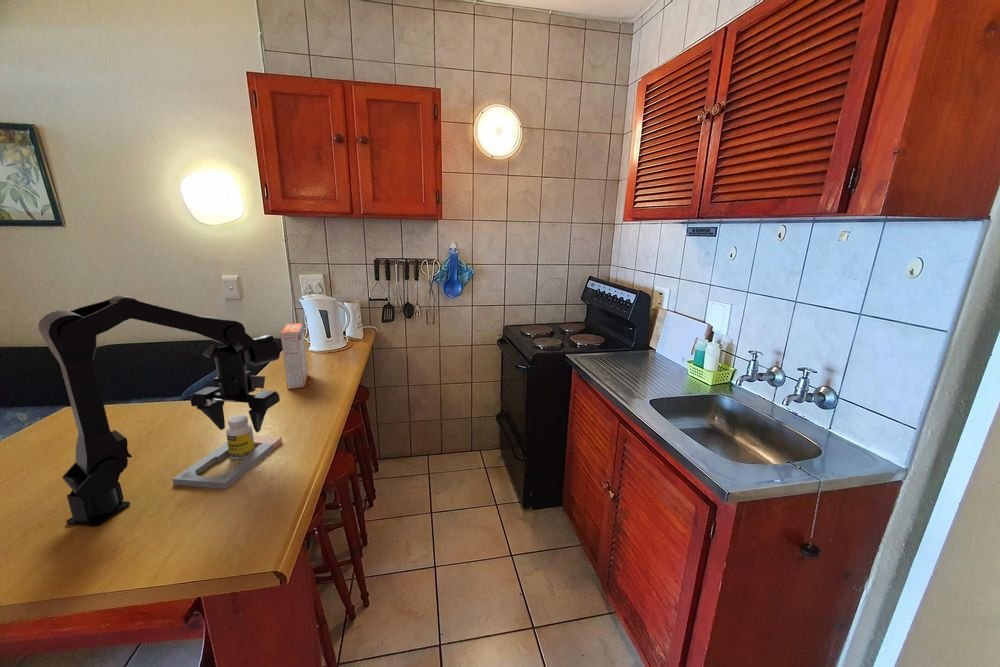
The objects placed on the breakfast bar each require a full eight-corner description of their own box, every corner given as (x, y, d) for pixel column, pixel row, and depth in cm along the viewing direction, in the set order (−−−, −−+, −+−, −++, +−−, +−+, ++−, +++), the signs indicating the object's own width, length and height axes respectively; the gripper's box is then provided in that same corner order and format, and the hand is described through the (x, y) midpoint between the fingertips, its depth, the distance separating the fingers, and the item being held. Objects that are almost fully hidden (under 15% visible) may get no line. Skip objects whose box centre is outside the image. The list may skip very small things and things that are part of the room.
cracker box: (291, 376, 151) (286, 323, 146) (308, 374, 153) (304, 322, 148) (285, 389, 138) (279, 332, 133) (304, 388, 140) (299, 331, 135)
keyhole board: (225, 489, 85) (224, 483, 85) (173, 484, 86) (172, 478, 86) (282, 442, 105) (281, 437, 104) (239, 439, 105) (238, 433, 105)
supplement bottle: (226, 461, 95) (220, 424, 93) (234, 449, 100) (229, 414, 98) (251, 458, 97) (246, 422, 94) (258, 447, 102) (253, 412, 99)
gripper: (289, 362, 100) (295, 418, 104) (220, 358, 101) (228, 413, 105) (260, 377, 90) (268, 439, 93) (183, 372, 91) (194, 433, 95)
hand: (240, 430), depth 97 cm, fingers open, 9 cm apart
